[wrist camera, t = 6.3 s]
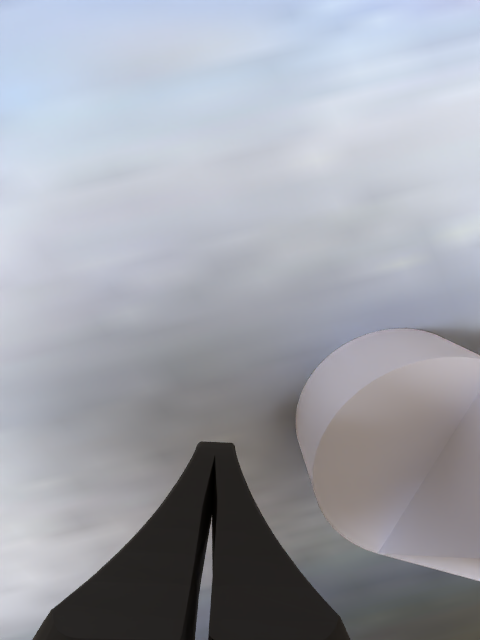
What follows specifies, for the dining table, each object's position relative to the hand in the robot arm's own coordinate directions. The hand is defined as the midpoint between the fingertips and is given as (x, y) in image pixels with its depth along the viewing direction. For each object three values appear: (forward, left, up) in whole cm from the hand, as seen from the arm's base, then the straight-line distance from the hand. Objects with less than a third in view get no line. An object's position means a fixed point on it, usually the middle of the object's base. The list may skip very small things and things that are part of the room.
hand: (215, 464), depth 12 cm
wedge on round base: (0, -10, -3) cm, 11 cm away
